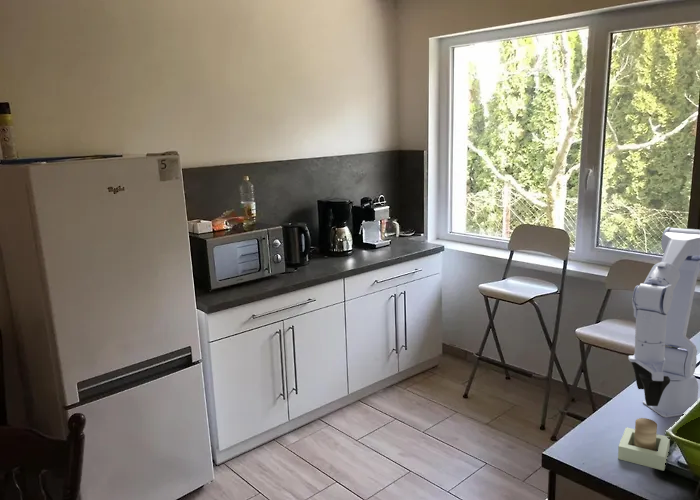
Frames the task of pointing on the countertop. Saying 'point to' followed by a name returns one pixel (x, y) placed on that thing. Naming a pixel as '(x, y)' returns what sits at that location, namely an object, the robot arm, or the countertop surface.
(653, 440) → the peg
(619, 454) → the socket
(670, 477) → the countertop surface
